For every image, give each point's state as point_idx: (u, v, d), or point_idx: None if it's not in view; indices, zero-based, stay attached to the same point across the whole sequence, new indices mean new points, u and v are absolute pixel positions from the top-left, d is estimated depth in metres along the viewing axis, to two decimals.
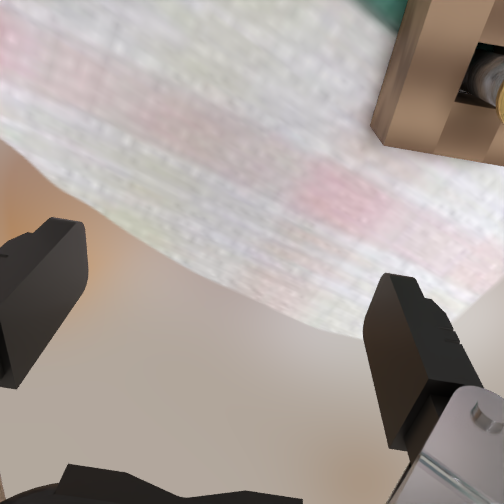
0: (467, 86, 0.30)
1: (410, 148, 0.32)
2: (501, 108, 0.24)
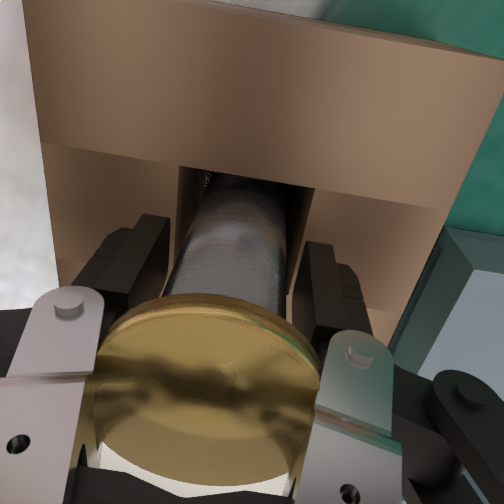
0: (217, 187, 0.13)
1: (36, 72, 0.11)
2: (148, 327, 0.06)
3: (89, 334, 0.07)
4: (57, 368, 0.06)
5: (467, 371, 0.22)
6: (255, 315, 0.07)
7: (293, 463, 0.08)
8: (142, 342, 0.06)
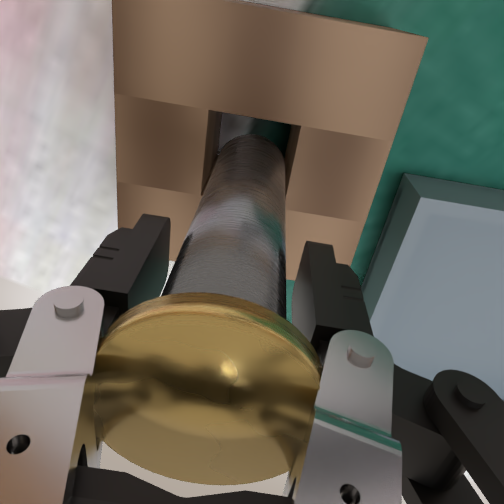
0: (217, 187, 0.13)
1: (116, 45, 0.16)
2: (148, 327, 0.06)
3: (89, 334, 0.07)
4: (57, 368, 0.06)
5: (427, 295, 0.28)
6: (255, 315, 0.07)
7: (293, 463, 0.08)
8: (142, 341, 0.06)
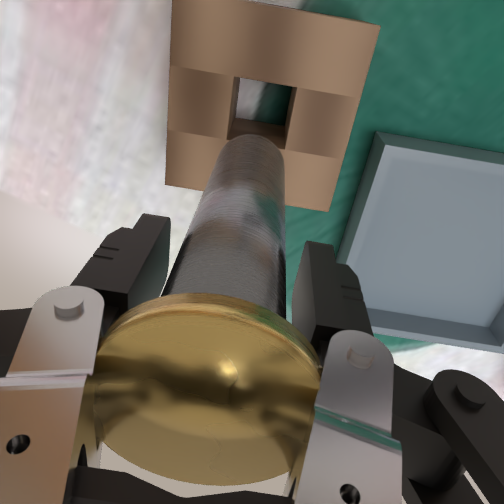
0: (216, 187, 0.13)
1: (173, 31, 0.24)
2: (148, 328, 0.06)
3: (89, 334, 0.07)
4: (57, 368, 0.06)
5: (397, 231, 0.36)
6: (255, 315, 0.07)
7: (293, 463, 0.08)
8: (142, 342, 0.06)
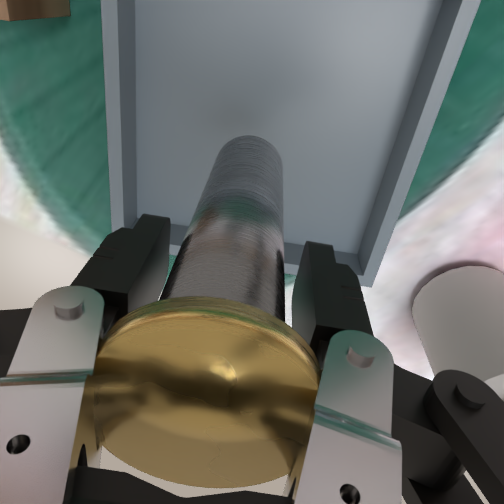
0: (214, 189, 0.13)
1: None
2: (148, 331, 0.06)
3: (89, 334, 0.07)
4: (57, 368, 0.06)
5: (193, 97, 0.24)
6: (253, 318, 0.07)
7: (293, 463, 0.08)
8: (141, 346, 0.06)
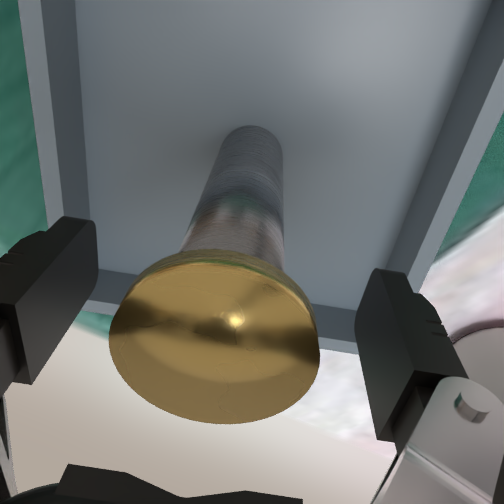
0: (220, 171, 0.14)
1: None
2: (170, 274, 0.07)
3: None
4: None
5: (158, 123, 0.19)
6: (258, 266, 0.08)
7: (374, 499, 0.07)
8: (164, 288, 0.08)
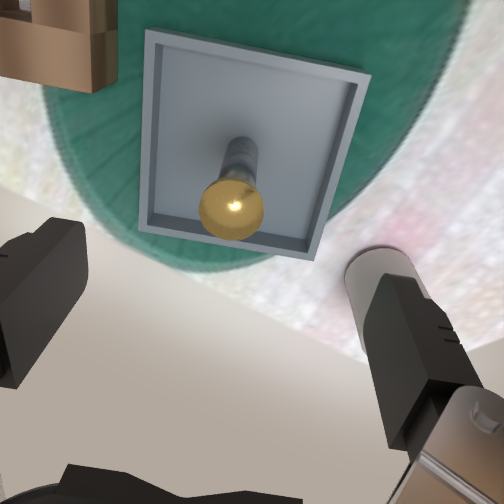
0: (229, 157, 0.33)
1: None
2: (220, 182, 0.26)
3: None
4: None
5: (196, 134, 0.37)
6: (245, 181, 0.27)
7: None
8: (218, 186, 0.26)
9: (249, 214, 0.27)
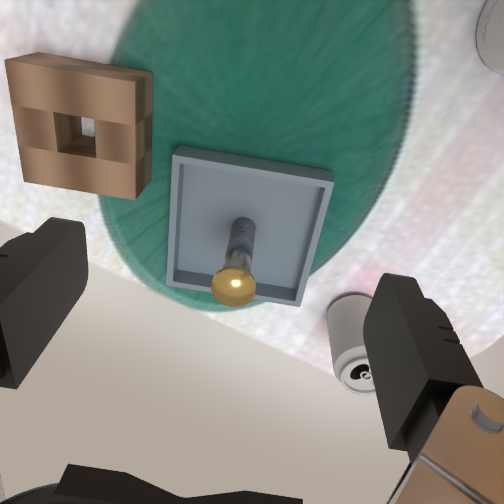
0: (233, 240, 0.45)
1: (9, 84, 0.38)
2: (225, 271, 0.39)
3: None
4: None
5: (209, 215, 0.50)
6: (242, 269, 0.39)
7: None
8: (223, 273, 0.39)
9: (245, 290, 0.40)
